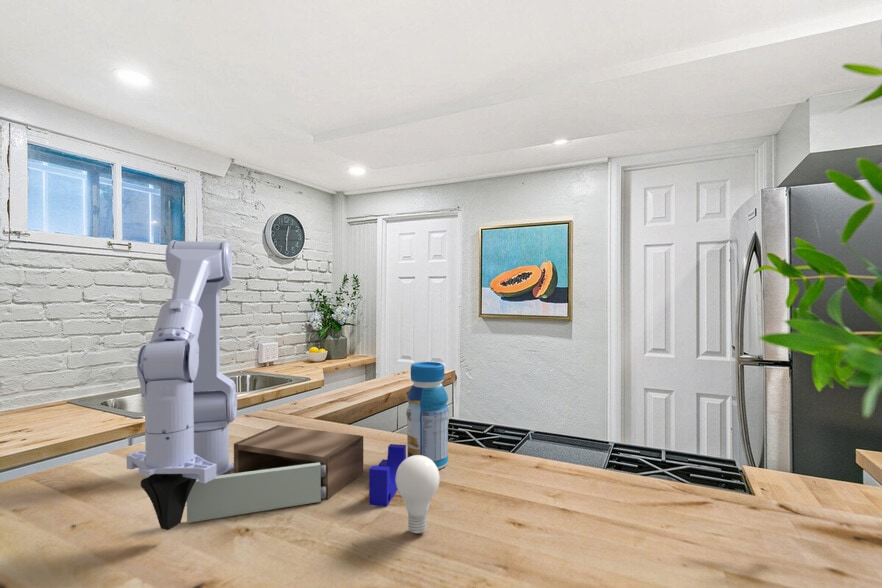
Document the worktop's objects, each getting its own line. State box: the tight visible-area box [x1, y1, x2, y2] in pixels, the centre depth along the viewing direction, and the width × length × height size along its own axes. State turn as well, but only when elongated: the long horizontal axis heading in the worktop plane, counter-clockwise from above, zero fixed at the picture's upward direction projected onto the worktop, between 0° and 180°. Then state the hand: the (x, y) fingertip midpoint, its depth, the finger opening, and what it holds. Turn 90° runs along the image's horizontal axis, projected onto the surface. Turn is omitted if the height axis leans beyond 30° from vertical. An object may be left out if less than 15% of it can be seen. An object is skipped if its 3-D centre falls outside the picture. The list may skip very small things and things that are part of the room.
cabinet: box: [233, 424, 365, 500], centre depth 84 cm, size 20×12×7 cm, turn 70°
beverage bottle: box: [405, 361, 450, 470], centre depth 90 cm, size 8×8×20 cm
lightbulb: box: [395, 455, 441, 535], centre depth 65 cm, size 6×6×11 cm
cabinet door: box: [186, 462, 326, 524], centre depth 71 cm, size 20×1×6 cm, turn 110°
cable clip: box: [368, 443, 407, 507], centre depth 79 cm, size 12×4×6 cm, turn 170°
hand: (170, 525), depth 62 cm, fingers closed
